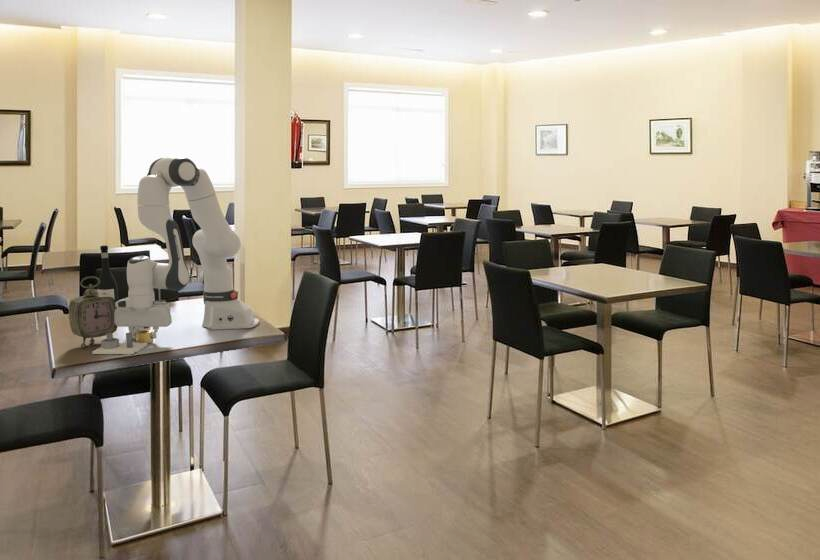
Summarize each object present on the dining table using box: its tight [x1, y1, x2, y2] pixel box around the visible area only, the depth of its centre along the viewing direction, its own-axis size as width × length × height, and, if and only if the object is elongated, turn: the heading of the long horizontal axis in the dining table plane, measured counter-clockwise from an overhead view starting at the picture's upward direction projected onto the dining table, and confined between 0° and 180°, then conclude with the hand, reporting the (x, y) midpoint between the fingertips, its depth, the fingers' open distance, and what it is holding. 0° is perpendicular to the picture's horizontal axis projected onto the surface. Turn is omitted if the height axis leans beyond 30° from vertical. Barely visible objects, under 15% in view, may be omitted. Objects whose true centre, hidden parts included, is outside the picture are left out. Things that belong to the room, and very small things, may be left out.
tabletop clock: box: [68, 275, 118, 349], centre depth 253 cm, size 14×9×25 cm, turn 138°
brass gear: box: [135, 329, 154, 344], centre depth 257 cm, size 5×5×4 cm
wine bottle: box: [96, 244, 119, 302], centre depth 305 cm, size 8×8×30 cm
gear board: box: [92, 332, 148, 355], centre depth 246 cm, size 14×12×6 cm
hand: (144, 338), depth 257 cm, fingers closed on brass gear, 5 cm apart
